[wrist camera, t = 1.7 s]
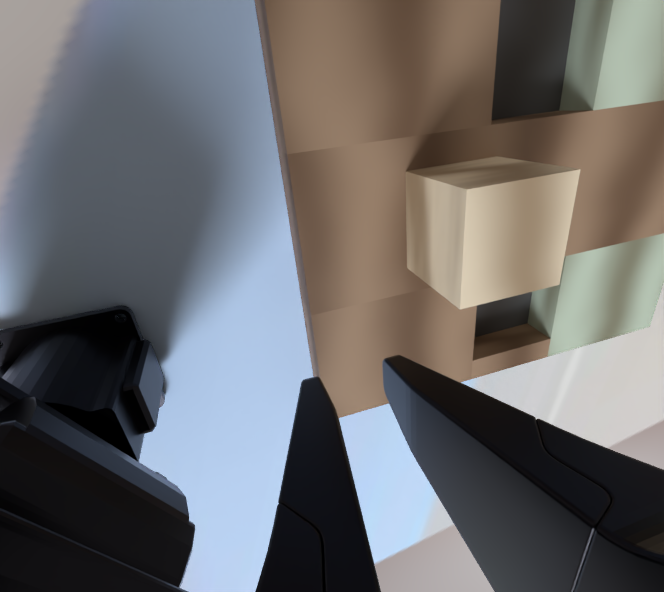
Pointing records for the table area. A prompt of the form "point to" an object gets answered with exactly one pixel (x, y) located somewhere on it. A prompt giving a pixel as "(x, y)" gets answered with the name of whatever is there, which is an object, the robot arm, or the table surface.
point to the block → (489, 227)
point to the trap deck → (460, 146)
